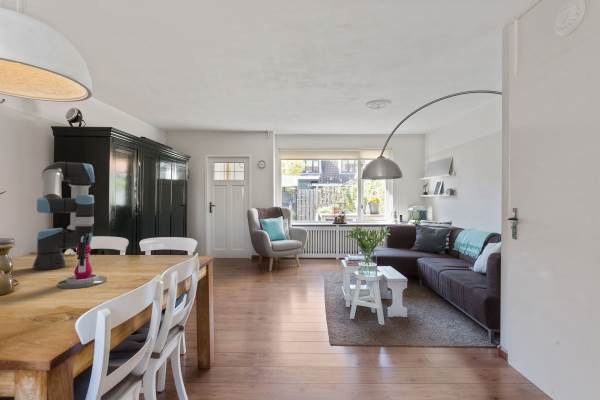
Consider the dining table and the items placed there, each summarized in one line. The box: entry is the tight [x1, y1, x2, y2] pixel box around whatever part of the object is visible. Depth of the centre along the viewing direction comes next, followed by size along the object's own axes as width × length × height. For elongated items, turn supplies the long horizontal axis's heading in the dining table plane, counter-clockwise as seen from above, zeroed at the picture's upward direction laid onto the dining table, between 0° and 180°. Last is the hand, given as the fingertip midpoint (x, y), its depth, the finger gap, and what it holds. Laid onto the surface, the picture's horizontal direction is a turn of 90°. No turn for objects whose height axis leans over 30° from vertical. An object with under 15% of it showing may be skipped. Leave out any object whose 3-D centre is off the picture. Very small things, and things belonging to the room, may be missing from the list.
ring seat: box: [57, 273, 108, 290], centre depth 149 cm, size 20×20×3 cm
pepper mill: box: [74, 244, 93, 280], centre depth 149 cm, size 7×7×20 cm
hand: (83, 270), depth 149 cm, fingers open, 9 cm apart
